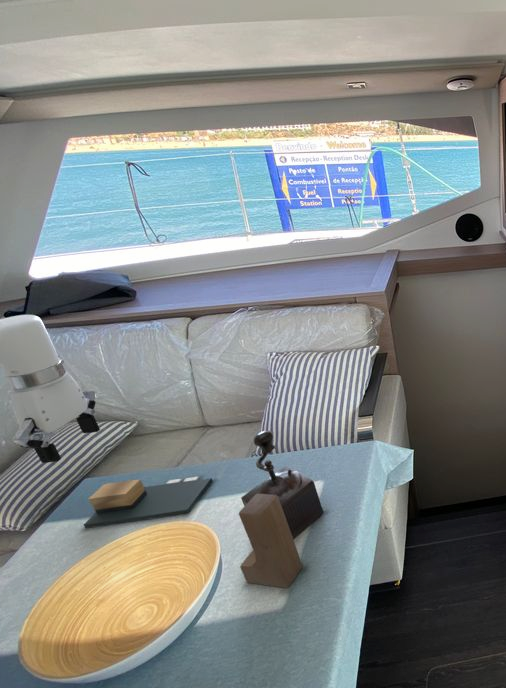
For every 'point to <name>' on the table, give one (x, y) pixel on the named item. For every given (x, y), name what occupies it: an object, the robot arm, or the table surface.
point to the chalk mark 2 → (191, 479)
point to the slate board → (157, 503)
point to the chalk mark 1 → (174, 481)
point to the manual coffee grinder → (287, 489)
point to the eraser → (118, 496)
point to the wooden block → (269, 543)
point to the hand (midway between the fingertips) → (72, 445)
